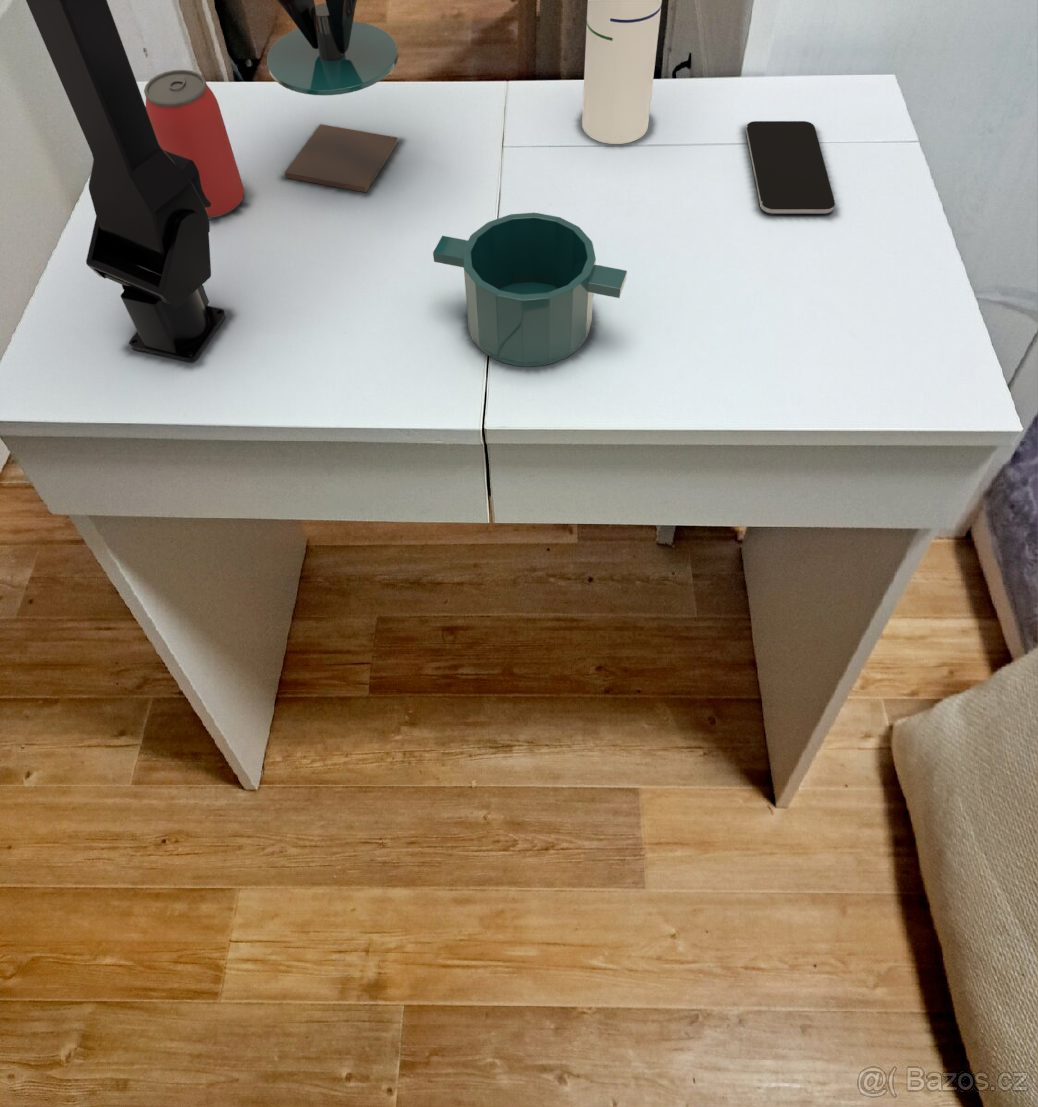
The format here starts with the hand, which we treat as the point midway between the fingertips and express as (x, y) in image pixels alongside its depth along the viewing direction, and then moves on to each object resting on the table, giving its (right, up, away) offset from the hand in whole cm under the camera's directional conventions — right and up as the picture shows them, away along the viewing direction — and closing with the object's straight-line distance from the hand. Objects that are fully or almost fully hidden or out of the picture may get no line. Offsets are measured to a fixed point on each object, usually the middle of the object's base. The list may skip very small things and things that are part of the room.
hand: (331, 48), depth 86 cm
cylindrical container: (+28, -1, +14) cm, 31 cm away
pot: (+18, -26, -3) cm, 32 cm away
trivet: (-1, -6, +11) cm, 13 cm away
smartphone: (+45, -8, +9) cm, 47 cm away
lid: (0, -1, +1) cm, 1 cm away
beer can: (-14, -11, +8) cm, 19 cm away
